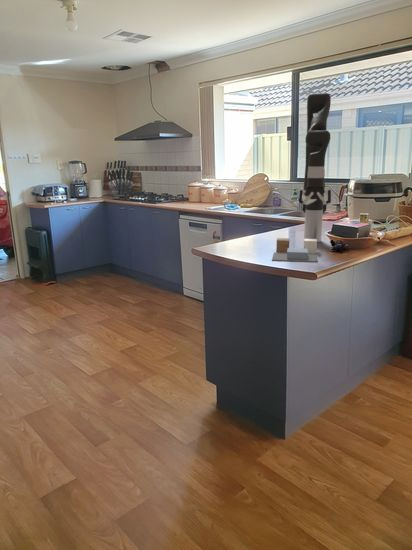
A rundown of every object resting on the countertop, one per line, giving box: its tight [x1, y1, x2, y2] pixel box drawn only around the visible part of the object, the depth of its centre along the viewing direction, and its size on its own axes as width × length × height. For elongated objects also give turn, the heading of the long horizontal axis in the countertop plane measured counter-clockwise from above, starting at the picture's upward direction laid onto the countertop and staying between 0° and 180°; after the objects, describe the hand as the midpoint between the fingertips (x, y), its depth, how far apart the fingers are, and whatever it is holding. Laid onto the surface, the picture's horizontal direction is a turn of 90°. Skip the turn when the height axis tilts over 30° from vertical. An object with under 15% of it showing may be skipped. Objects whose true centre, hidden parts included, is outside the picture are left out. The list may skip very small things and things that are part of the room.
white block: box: [303, 238, 318, 254], centre depth 209 cm, size 6×6×6 cm
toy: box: [328, 239, 348, 253], centre depth 213 cm, size 9×6×15 cm
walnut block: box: [275, 237, 291, 253], centre depth 212 cm, size 6×6×6 cm
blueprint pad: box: [271, 247, 319, 263], centre depth 197 cm, size 16×20×4 cm
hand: (314, 212), depth 200 cm, fingers open, 8 cm apart
